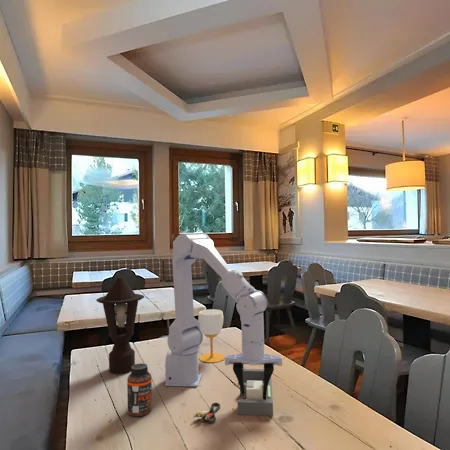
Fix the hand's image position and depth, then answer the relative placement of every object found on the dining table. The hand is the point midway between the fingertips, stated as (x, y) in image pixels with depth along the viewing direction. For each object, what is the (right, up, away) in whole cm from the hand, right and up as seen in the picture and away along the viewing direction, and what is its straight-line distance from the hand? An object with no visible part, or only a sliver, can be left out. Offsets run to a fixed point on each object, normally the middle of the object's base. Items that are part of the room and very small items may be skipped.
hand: (254, 392), depth 92 cm
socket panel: (+1, -3, +5) cm, 6 cm away
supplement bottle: (-29, -4, -2) cm, 29 cm away
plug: (0, -3, 0) cm, 3 cm away
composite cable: (-11, -4, -5) cm, 12 cm away
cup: (-12, -4, +33) cm, 35 cm away
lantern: (-41, -4, +25) cm, 48 cm away
